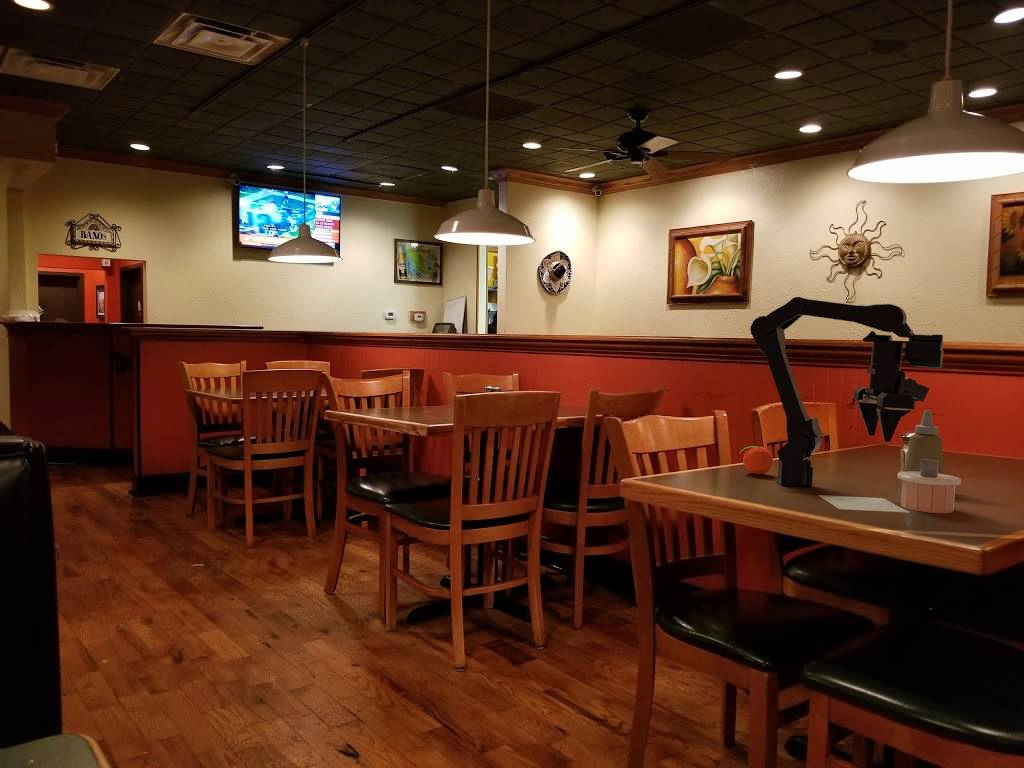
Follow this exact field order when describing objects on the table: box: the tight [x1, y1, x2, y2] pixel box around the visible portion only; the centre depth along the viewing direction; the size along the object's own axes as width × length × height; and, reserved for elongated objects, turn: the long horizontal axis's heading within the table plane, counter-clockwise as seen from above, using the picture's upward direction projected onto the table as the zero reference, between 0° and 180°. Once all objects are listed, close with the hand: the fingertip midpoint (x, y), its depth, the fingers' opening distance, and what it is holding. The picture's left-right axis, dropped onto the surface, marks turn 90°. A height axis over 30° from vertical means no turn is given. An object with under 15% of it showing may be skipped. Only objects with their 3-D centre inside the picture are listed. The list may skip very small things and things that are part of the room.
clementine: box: [739, 445, 774, 476], centre depth 188 cm, size 8×7×7 cm
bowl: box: [900, 480, 956, 514], centre depth 152 cm, size 9×9×6 cm
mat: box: [818, 494, 911, 514], centre depth 154 cm, size 13×13×1 cm
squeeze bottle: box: [903, 409, 945, 474], centre depth 175 cm, size 8×8×18 cm
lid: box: [897, 459, 962, 487], centre depth 152 cm, size 11×11×4 cm
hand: (879, 438), depth 163 cm, fingers open, 9 cm apart
